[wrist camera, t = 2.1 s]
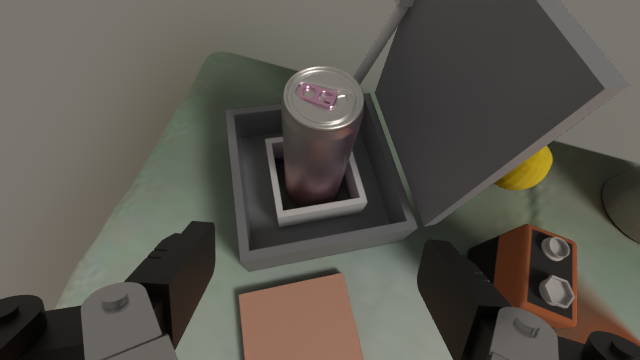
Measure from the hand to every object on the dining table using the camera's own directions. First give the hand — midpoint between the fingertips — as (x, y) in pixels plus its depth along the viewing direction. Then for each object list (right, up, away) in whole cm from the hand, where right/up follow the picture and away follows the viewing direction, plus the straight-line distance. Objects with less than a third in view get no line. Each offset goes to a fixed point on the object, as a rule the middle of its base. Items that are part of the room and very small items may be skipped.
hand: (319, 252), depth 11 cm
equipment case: (-1, +2, +23) cm, 23 cm away
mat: (-2, -12, +16) cm, 20 cm away
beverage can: (-1, +2, +23) cm, 23 cm away
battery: (+17, -8, +20) cm, 27 cm away
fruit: (+21, +3, +25) cm, 33 cm away
